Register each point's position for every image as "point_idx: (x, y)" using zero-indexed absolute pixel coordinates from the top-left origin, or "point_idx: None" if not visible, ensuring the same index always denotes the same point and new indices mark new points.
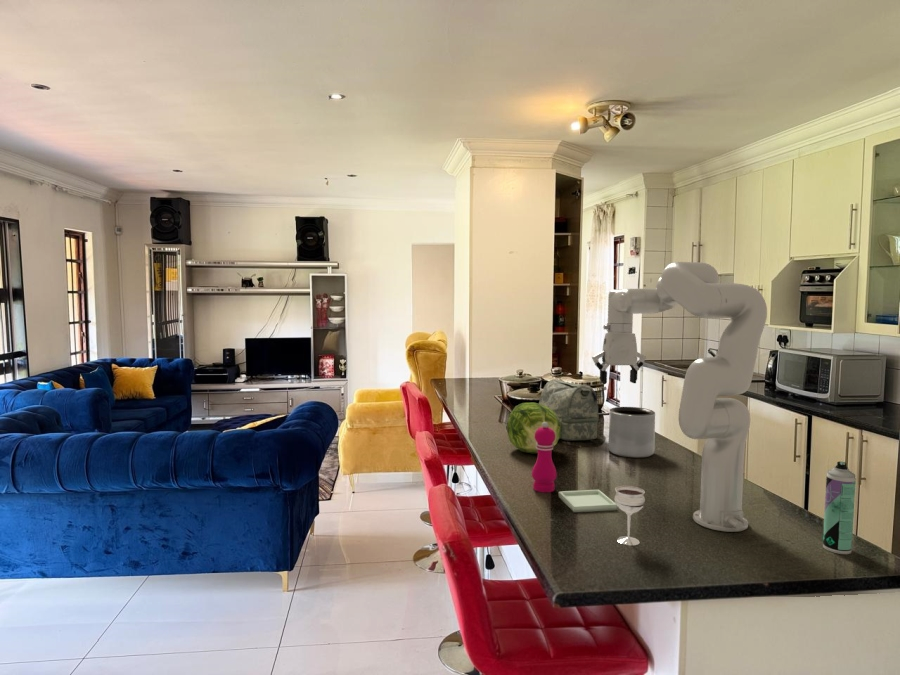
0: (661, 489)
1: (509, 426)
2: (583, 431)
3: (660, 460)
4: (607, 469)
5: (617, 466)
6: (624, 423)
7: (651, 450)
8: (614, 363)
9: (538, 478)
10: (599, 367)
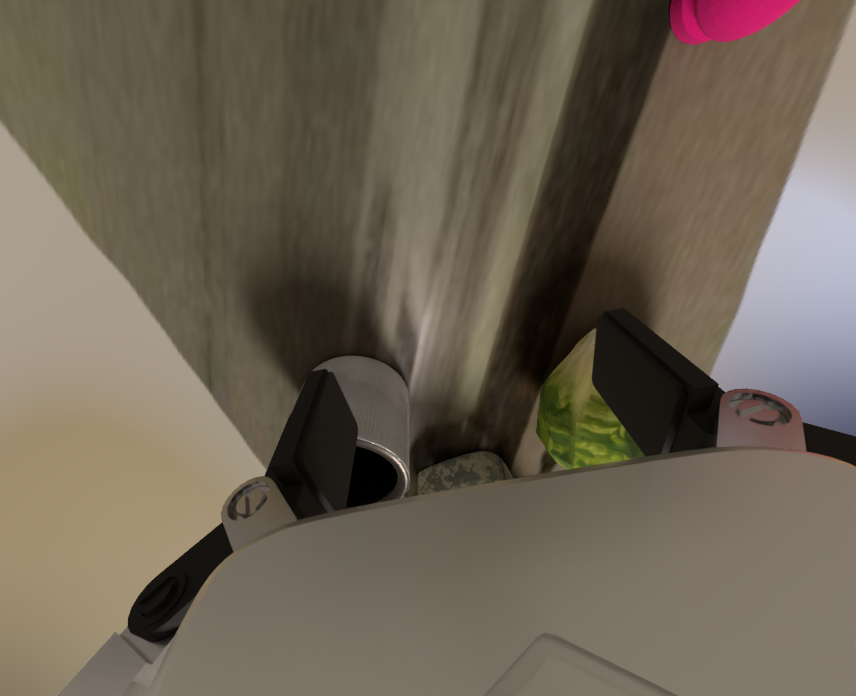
0: (303, 40)
1: None
2: (452, 474)
3: (291, 347)
4: (440, 253)
5: (408, 284)
6: (373, 420)
7: None
8: (704, 472)
9: None
10: (830, 434)
